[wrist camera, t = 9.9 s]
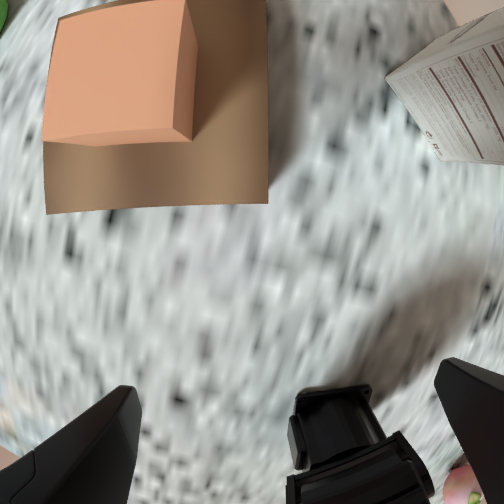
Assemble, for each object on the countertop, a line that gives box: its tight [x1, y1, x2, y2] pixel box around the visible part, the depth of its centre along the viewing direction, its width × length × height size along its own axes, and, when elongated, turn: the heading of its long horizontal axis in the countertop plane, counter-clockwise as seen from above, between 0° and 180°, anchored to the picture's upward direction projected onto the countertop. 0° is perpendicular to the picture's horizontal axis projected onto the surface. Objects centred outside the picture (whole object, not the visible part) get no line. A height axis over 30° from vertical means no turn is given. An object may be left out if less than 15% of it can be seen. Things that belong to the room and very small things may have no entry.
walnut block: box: [43, 0, 268, 215], centre depth 14 cm, size 12×12×4 cm
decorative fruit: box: [443, 465, 484, 504], centre depth 26 cm, size 9×8×10 cm
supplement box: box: [385, 8, 504, 165], centre depth 11 cm, size 7×7×13 cm
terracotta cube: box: [42, 0, 198, 147], centre depth 10 cm, size 5×5×5 cm
